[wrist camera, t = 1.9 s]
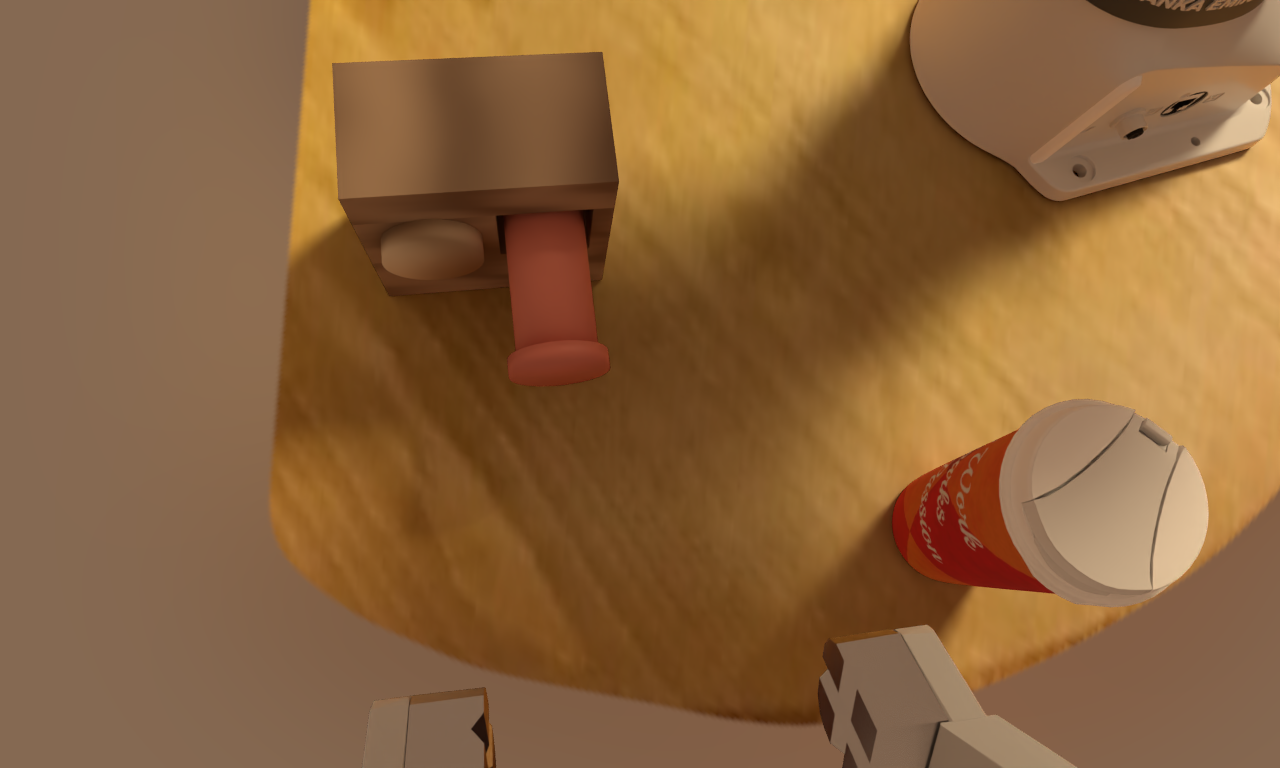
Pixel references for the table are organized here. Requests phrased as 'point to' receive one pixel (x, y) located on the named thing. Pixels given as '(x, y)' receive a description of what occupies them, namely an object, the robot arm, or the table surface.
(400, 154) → the socket block
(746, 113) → the table surface
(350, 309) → the table surface
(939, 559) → the paper cup
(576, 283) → the red plug
